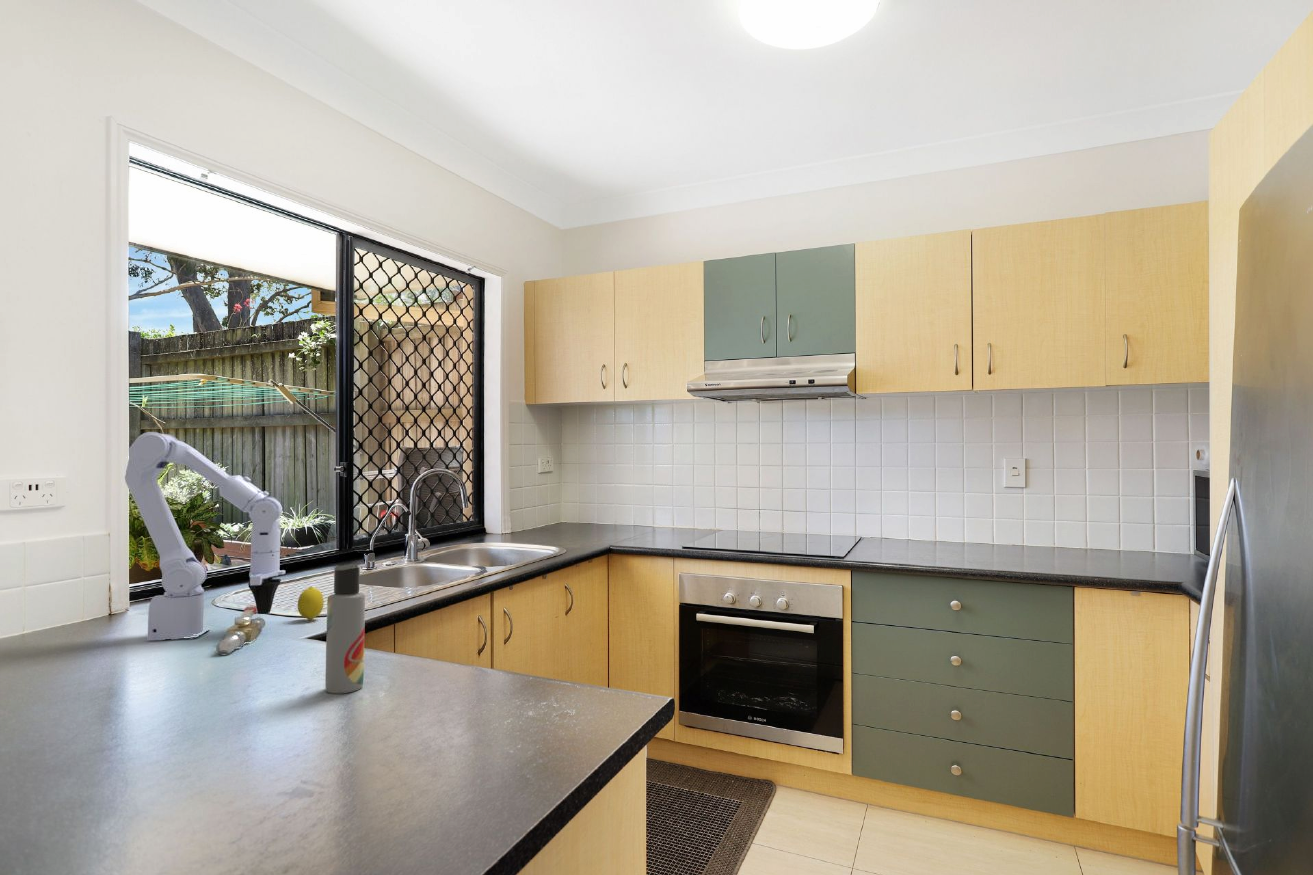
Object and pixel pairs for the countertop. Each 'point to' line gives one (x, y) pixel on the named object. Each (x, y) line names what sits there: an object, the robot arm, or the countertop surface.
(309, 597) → the lemon
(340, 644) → the lotion bottle
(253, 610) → the lever
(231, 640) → the valve
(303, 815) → the countertop surface
